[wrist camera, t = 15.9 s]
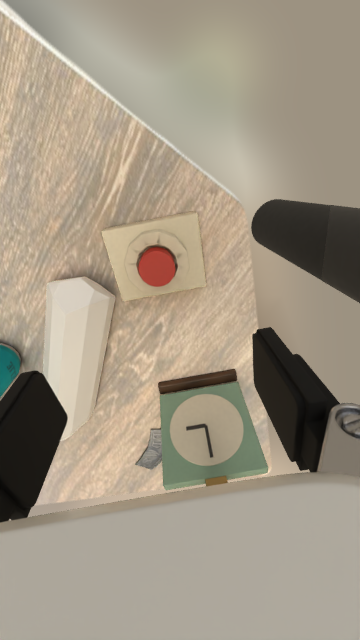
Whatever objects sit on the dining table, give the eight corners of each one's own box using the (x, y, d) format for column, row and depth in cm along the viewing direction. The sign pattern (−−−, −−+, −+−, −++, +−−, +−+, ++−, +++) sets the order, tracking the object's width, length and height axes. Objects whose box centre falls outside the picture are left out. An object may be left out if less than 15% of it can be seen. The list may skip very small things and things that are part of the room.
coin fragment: (153, 424, 42) (153, 426, 42) (179, 429, 43) (179, 431, 43) (133, 466, 48) (133, 468, 47) (157, 470, 49) (157, 472, 48)
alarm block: (195, 210, 26) (200, 214, 23) (203, 280, 30) (209, 292, 27) (104, 228, 27) (96, 234, 23) (124, 294, 30) (120, 308, 27)
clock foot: (234, 368, 38) (236, 373, 37) (235, 376, 38) (236, 381, 38) (158, 382, 38) (158, 387, 37) (160, 389, 39) (160, 394, 38)
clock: (238, 387, 38) (237, 364, 34) (286, 528, 24) (294, 512, 21) (161, 401, 38) (154, 378, 35) (168, 548, 25) (156, 535, 21)
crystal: (100, 437, 37) (131, 294, 26) (46, 455, 32) (58, 293, 22) (86, 400, 42) (107, 267, 31) (38, 412, 37) (43, 262, 27)
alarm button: (171, 243, 24) (171, 247, 23) (177, 277, 26) (178, 283, 25) (135, 250, 24) (134, 254, 23) (144, 283, 26) (143, 290, 25)
